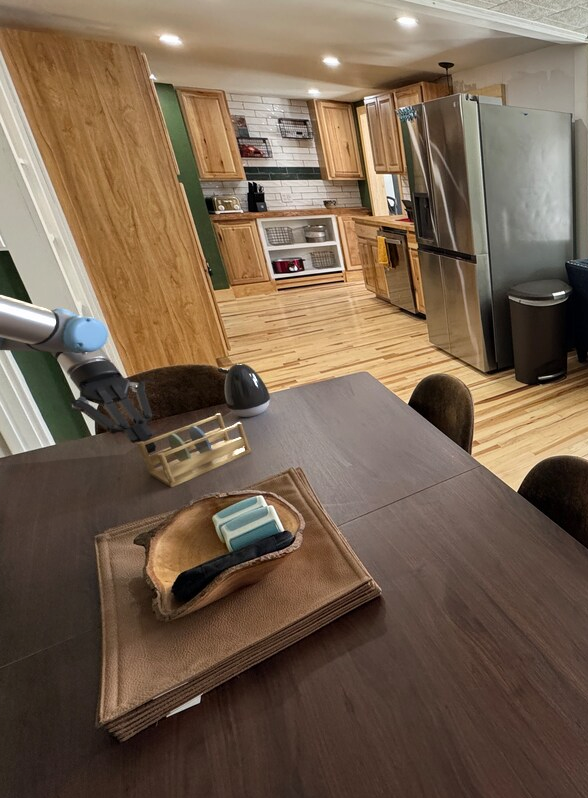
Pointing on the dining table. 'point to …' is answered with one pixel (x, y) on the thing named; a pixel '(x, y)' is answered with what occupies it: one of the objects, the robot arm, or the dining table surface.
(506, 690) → the dining table surface
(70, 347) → the robot arm
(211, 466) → the dish rack
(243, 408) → the pump dispenser
